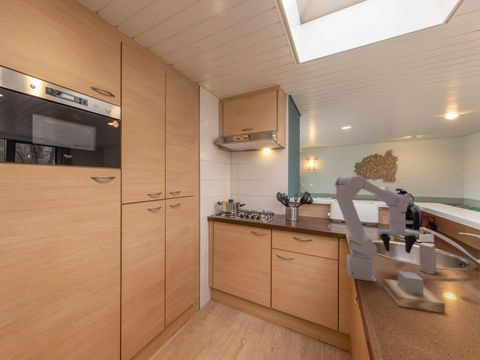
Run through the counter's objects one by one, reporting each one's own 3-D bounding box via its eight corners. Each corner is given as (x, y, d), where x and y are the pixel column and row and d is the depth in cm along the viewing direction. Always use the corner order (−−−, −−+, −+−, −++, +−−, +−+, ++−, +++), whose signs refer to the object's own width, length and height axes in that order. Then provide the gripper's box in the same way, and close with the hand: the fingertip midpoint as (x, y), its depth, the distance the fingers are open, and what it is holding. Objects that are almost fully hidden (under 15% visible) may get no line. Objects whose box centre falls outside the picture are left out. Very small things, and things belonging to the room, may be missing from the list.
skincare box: (433, 274, 83) (432, 247, 83) (419, 270, 87) (418, 244, 87) (436, 271, 86) (436, 244, 87) (423, 267, 90) (423, 241, 90)
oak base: (398, 305, 63) (398, 296, 63) (382, 286, 74) (382, 278, 74) (444, 313, 59) (444, 303, 59) (421, 291, 70) (420, 283, 70)
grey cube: (405, 292, 65) (405, 277, 65) (397, 284, 70) (397, 271, 70) (423, 294, 64) (423, 279, 64) (414, 286, 68) (414, 272, 68)
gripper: (381, 222, 84) (382, 253, 83) (422, 224, 79) (423, 256, 79) (375, 219, 90) (375, 247, 90) (412, 220, 86) (413, 250, 86)
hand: (397, 251), depth 85 cm, fingers open, 7 cm apart
